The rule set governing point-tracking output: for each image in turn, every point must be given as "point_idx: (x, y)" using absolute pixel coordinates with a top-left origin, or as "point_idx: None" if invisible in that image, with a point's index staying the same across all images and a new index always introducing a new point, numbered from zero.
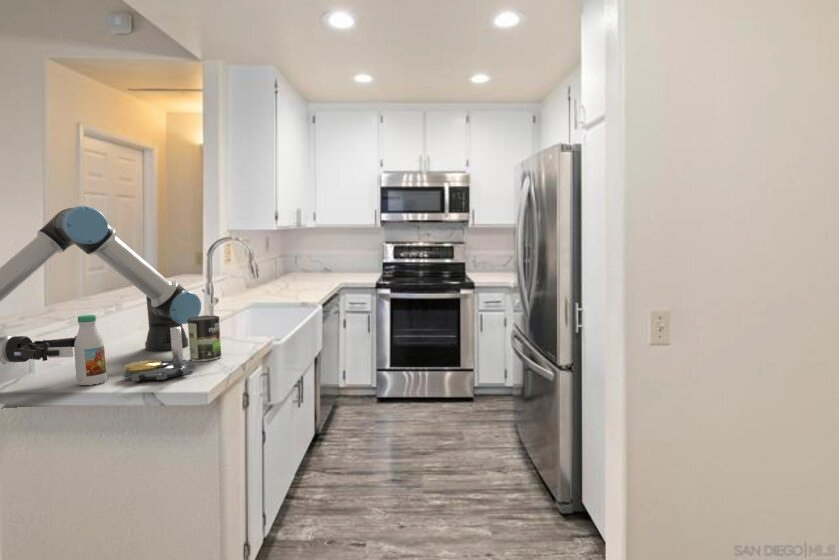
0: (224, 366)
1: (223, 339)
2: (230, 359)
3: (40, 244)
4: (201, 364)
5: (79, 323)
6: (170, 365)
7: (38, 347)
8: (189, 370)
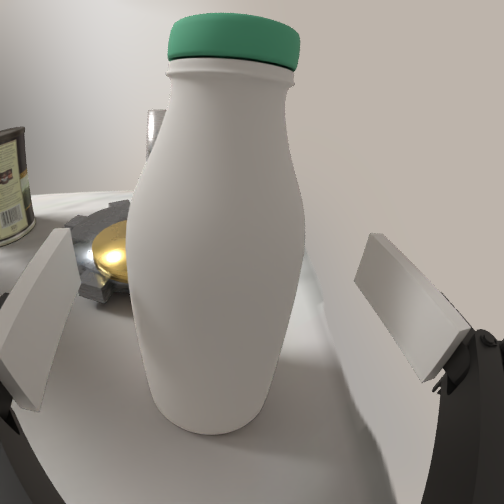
0: (99, 199)
1: None
2: (44, 204)
3: None
4: (58, 223)
5: (291, 79)
6: None
7: (494, 448)
8: None
